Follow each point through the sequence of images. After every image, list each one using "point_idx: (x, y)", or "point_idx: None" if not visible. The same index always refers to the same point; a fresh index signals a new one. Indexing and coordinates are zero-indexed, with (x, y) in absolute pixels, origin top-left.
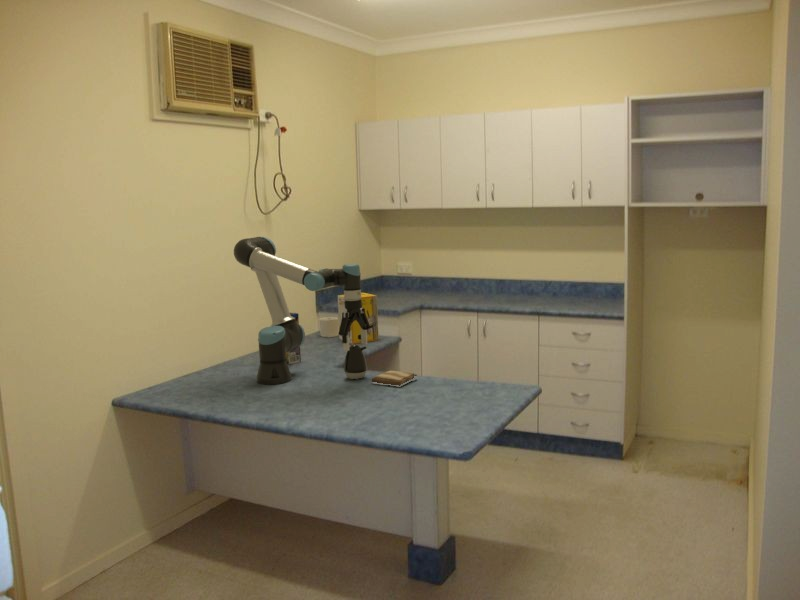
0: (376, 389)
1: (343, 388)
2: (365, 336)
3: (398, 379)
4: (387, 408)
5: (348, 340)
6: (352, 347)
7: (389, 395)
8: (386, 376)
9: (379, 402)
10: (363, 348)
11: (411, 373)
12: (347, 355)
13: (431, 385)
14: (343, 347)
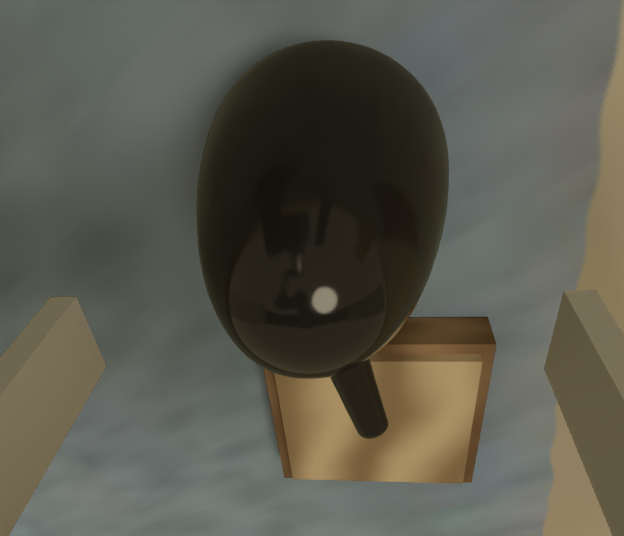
0: (190, 387)
1: (63, 233)
2: (597, 482)
3: (301, 473)
4: (33, 513)
5: (15, 502)
6: (232, 337)
7: (157, 464)
8: (321, 409)
9: (56, 473)
10: (345, 407)
11: (455, 475)
12: (198, 220)
13: (398, 520)
14: (30, 329)
